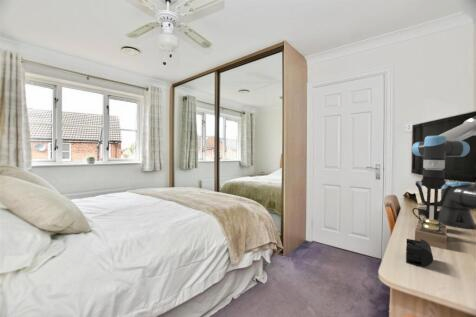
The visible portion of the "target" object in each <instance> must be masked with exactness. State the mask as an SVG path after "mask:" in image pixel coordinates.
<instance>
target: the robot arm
mask: <svg viewBox="0 0 476 317" xmlns="http://www.w3.org/2000/svg"><path fill="white" fill-rule="evenodd" d="M473 136H476V115H475V116H473V117H470V118H468V119H466V120H464V122H463V123H462V124H460V125H458V126H455V127H453V128H451V129H449V130H447V131H444V132H443V133H441V134H439V135H427V136H425V138H424V141H417V142H414V143H413V144H412V147H411V151H412V153H413V155H414V156H417V157H423V162H422V164H423V166H422V168H423V170H422V178H421V181H419V182H415V186H416V187H417V189H418V193H419V197H420V200H421V204H424V205H425V206H426V207H427V208H426V211H427V212H430V213H429V220H434V213H437V209H438V207H440V209H439V210H440V211H439V216H438V221H439V222H440V223H442V225H446V226H450V227H453V228H460V229H474V228H475V227H476V226H475V225H476V224H475V223H476V222H475V220H474V217H473V215H472V213H471V209H473V210H476V181H475V182H474V185H473V184H472V182H470V181H445V170H444V169H445V166H446V157H449V158H451V157H452V158H460V157H462V158H463V157H465V156H467V155H468V154H469V153H470V150H471V148H470V144H469V143H468V142H466V141H464V140H466V139H468V138H470V137H473ZM423 186H424V187H425V188H426V199H425V195H424V191H423ZM432 190H434V195H433V196H434V197H433V199H434V200H433V204H431V197H432V196H431V194H432ZM439 190H440V191H441V192H440V200H439Z"/></svg>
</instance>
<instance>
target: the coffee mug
mask: <svg viewBox="0 0 476 317" xmlns="http://www.w3.org/2000/svg"><path fill="white" fill-rule="evenodd" d="M426 208H427V206H417V207H413V208H412V213H413V215H414V216H415V217H416V218H417V219H418V220H419V221H422V220H425V218H429V213H430V212H427V211H426ZM415 210H417V212H418V213H417V214H418V215H417V214H416V213H415V212H414V211H415ZM439 211H440V209H438V208H437V213H434V219H436V220H438V216H439Z"/></svg>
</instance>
